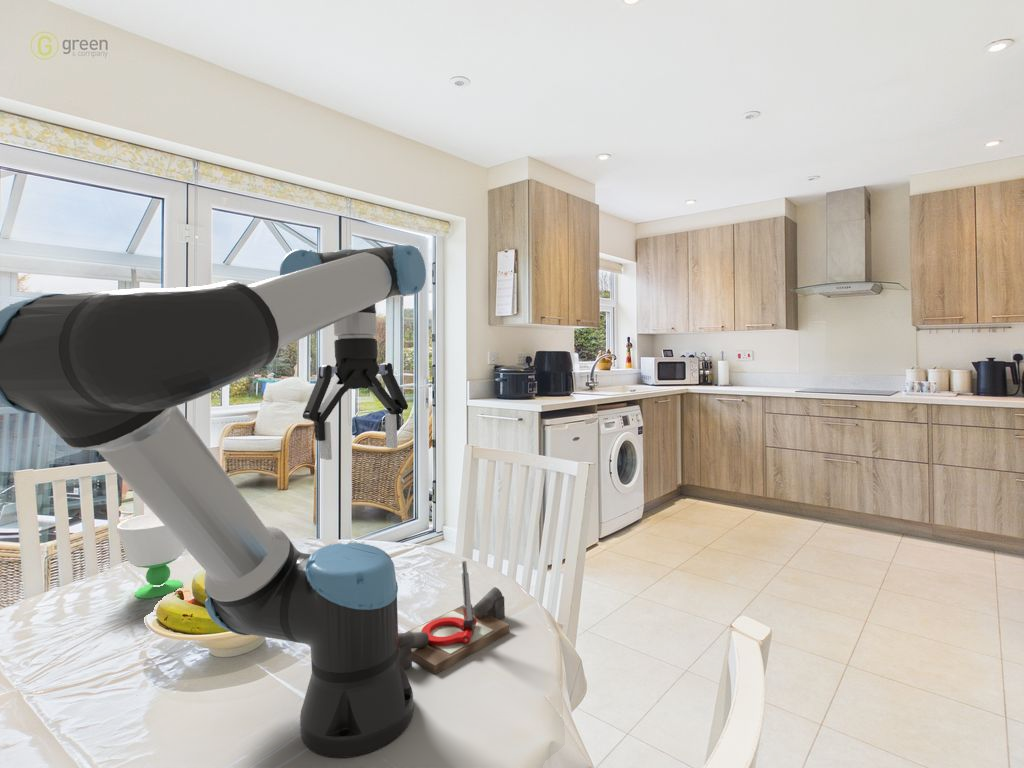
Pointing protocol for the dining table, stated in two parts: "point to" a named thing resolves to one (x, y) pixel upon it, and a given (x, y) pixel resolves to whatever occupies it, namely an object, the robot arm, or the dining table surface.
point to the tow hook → (456, 619)
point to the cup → (151, 552)
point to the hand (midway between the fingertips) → (360, 453)
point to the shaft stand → (444, 656)
